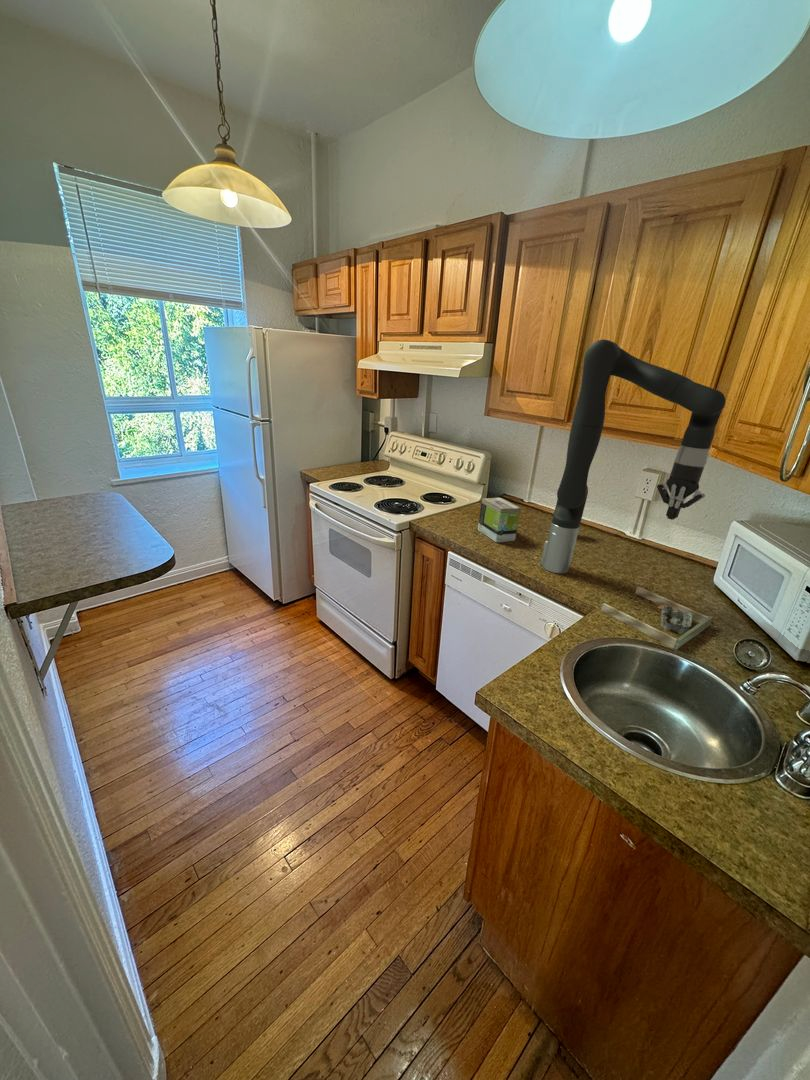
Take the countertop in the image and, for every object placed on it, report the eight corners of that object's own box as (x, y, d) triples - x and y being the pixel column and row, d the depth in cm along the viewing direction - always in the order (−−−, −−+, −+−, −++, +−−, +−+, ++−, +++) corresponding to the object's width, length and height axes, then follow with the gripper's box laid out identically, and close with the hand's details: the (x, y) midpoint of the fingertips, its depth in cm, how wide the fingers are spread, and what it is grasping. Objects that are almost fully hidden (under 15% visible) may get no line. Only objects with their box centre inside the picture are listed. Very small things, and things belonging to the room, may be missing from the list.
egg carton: (660, 612, 130) (664, 601, 128) (688, 621, 126) (693, 609, 125) (657, 628, 121) (661, 616, 120) (687, 638, 118) (692, 625, 116)
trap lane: (600, 610, 128) (603, 602, 127) (636, 593, 140) (638, 585, 139) (676, 649, 112) (680, 640, 111) (709, 625, 124) (712, 617, 123)
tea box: (515, 541, 175) (522, 507, 170) (495, 543, 172) (501, 509, 166) (496, 528, 188) (501, 496, 182) (476, 529, 185) (481, 497, 179)
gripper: (659, 458, 124) (643, 513, 131) (709, 468, 115) (689, 528, 121) (671, 456, 128) (654, 510, 135) (720, 466, 119) (699, 523, 125)
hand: (671, 518), depth 128 cm, fingers closed
